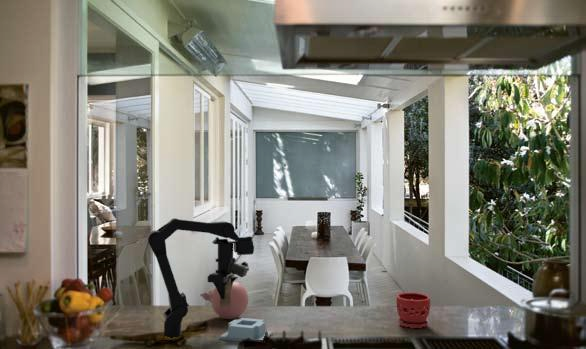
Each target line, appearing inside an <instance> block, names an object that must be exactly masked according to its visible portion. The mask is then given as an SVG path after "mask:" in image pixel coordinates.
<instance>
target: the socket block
mask: <svg viewBox="0 0 586 349" xmlns="http://www.w3.org/2000/svg"><path fill="white" fill-rule="evenodd" d="M227 327H228V330H227V331H226V332H224V333H222V334H221V335H219V340H223V341H233V342H235V341H236V342H242V341H241V340H242V339H246V338H250V339H252V340H263V338H264V336H265V332H266V331H267V332H268V336H269V335H270V334H272V333H273V334H274V332H273V330H271V331H269V330H266V322H265V319H257V318H247V317H246V318H244V317H241V318H239V319H234V320H232V321H230V322H228V326H227Z"/></svg>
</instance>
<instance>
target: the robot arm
mask: <svg viewBox="0 0 586 349" xmlns="http://www.w3.org/2000/svg"><path fill="white" fill-rule="evenodd" d="M176 231H186V232H187V231H188V232H196V233H197V232H198V233H204V234H205V233H206V234H207V233H208V234H212V235H214V236H216V237H215V239H214V240H213V241H212V243H211V244H214V245H217V258H215V262H216V263H217V269H216V270H215V272H213V273H210V274H209V275H207V283H212V284H213V285H214V288H216V289H217V291H218V293H219V295H220V297H221V299H225V293H226V285H227V284H228V283H229V282H230V281H227V278H230V279H231V288H232V285H233V282H234V281H235V282H236V280H237V279H238V278H239V277H240V278H244V277H245V276H247V273H248V272H249V271H250V269H249V268H250V266H249V262H248V261H243V262H237V261H236V257H234V253H236V255H237V256H248V255H253V254H254V251H255V246H254V241H253V237H252V236H251V235H249V236H248V235H247V236H242V237H241V236H239V235H238V234H237V233H236V232H235V227H234V224H233V223H231V222H228V221H213V222H212V221H211V222H206V221H198V220H197V221H196V220H187V219H180V218H179V219H178V218H175V217H174V218H171V219H170V221H168V222H167V223H165V224H164V225H162V226H161V227H160V228H158V229H157V230H152V231H150V232H149V233H148V234H147V237H146V241H147V244H148V245H149V247H150V248H151V251H152V252H153V255H154V256H155V258H156V261H157V263H158V266H159V270H160V273H161V276H162V280H163V283H164V286H165V288H166V291H167V296H168V297H167V298H168V305H169V307H168V308H167V310H165V311H164V312H163V317H164V319H165V321H164V323H163V337H164V336H167V337H170V338H173V337H178V336H180V335H182V321H183V318H185V317H186V316H187V315H188V312H189V308H188V307H190V304H189V303H188V302H187V296H186V294H185V293H184V292H180V290H179V288H178V285H177V282H176V279H175V276H174V272H173V270H172V266H171V263H170V261H169V257H168V254H167V244H166V243H167V242H166V240H167V239H169V238H170V237H171V236H172V235H173V234H174V233H175V232H176ZM220 237H222V238H220ZM228 239H230V240H228ZM231 240H232V241H231ZM236 275H237V276H236ZM175 341H176V340H175ZM176 342H177V341H176Z"/></svg>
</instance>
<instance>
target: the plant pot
mask: <svg viewBox="0 0 586 349" xmlns="http://www.w3.org/2000/svg"><path fill="white" fill-rule="evenodd" d="M395 302H396V310H397V314H398V317H399V318H398V319H397V322H398V324H399V325H400V326H402V327H404V326H405V327H404V328H407V327H410V328H409V329H414V328H419V329H423V328H422V327H424V328H426V327H427V326H428V324H429V322H428V320H427V319H428V317H429V314H430V311H431V310H430V309H431V297H430V296H429V295H428V294H423V293H419V292H418V293H417V292H401V293H399V294H396V300H395Z"/></svg>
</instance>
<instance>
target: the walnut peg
mask: <svg viewBox="0 0 586 349" xmlns="http://www.w3.org/2000/svg"><path fill="white" fill-rule="evenodd" d="M227 281H230V282H229V283H228V284H227V285H226V293H225V299H221V297H220V307H223V308H226V307H231V279H230V278H227Z"/></svg>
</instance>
